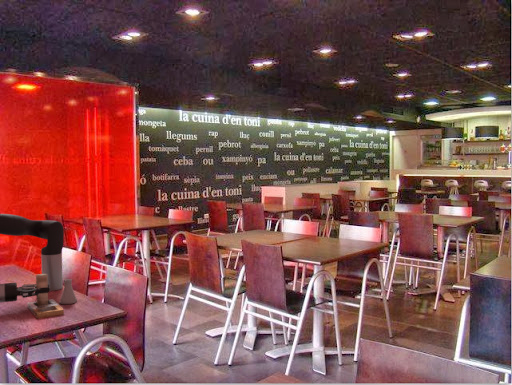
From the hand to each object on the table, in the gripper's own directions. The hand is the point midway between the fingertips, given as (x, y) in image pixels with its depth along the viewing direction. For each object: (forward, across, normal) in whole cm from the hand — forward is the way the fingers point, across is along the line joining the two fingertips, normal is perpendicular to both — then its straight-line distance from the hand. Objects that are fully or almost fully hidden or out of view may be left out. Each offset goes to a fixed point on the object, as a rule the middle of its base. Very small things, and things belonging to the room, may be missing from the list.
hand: (49, 288), depth 211 cm
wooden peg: (-3, 0, +8) cm, 8 cm away
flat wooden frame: (-2, -5, +8) cm, 10 cm away
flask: (+8, +4, +8) cm, 12 cm away
